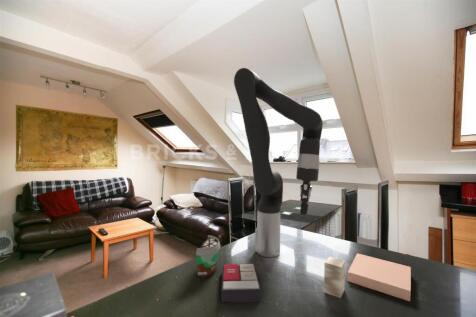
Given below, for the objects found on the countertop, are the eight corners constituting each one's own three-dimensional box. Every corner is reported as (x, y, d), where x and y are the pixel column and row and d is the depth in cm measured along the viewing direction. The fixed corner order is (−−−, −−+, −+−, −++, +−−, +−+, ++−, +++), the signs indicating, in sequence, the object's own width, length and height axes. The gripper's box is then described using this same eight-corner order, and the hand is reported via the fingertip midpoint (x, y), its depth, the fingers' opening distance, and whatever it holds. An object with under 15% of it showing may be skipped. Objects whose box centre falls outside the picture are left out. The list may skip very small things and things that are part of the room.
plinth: (347, 280, 73) (347, 271, 73) (356, 261, 86) (357, 253, 85) (410, 301, 63) (410, 291, 63) (410, 275, 76) (410, 267, 76)
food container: (214, 281, 72) (214, 250, 72) (196, 279, 73) (195, 249, 73) (224, 262, 84) (224, 236, 84) (208, 260, 86) (208, 234, 85)
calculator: (254, 262, 78) (261, 287, 63) (254, 275, 78) (261, 302, 63) (222, 263, 77) (221, 287, 62) (222, 275, 77) (221, 303, 62)
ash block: (323, 292, 67) (324, 262, 67) (328, 284, 71) (329, 256, 70) (340, 298, 64) (341, 267, 64) (344, 290, 68) (345, 260, 68)
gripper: (298, 166, 90) (295, 207, 90) (295, 165, 77) (291, 214, 76) (318, 168, 88) (315, 210, 87) (319, 167, 74) (315, 217, 74)
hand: (304, 212), depth 82 cm, fingers open, 8 cm apart
